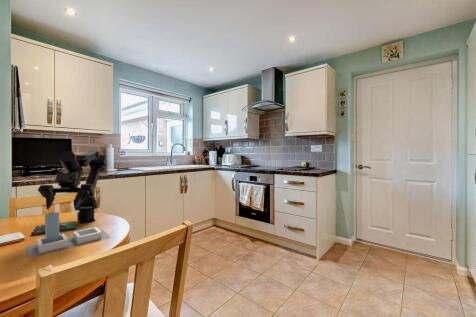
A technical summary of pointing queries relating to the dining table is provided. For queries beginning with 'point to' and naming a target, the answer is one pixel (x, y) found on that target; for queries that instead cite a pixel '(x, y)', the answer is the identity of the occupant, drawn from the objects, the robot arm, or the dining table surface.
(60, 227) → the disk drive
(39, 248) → the grey double socket base
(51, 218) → the plug
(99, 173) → the robot arm
